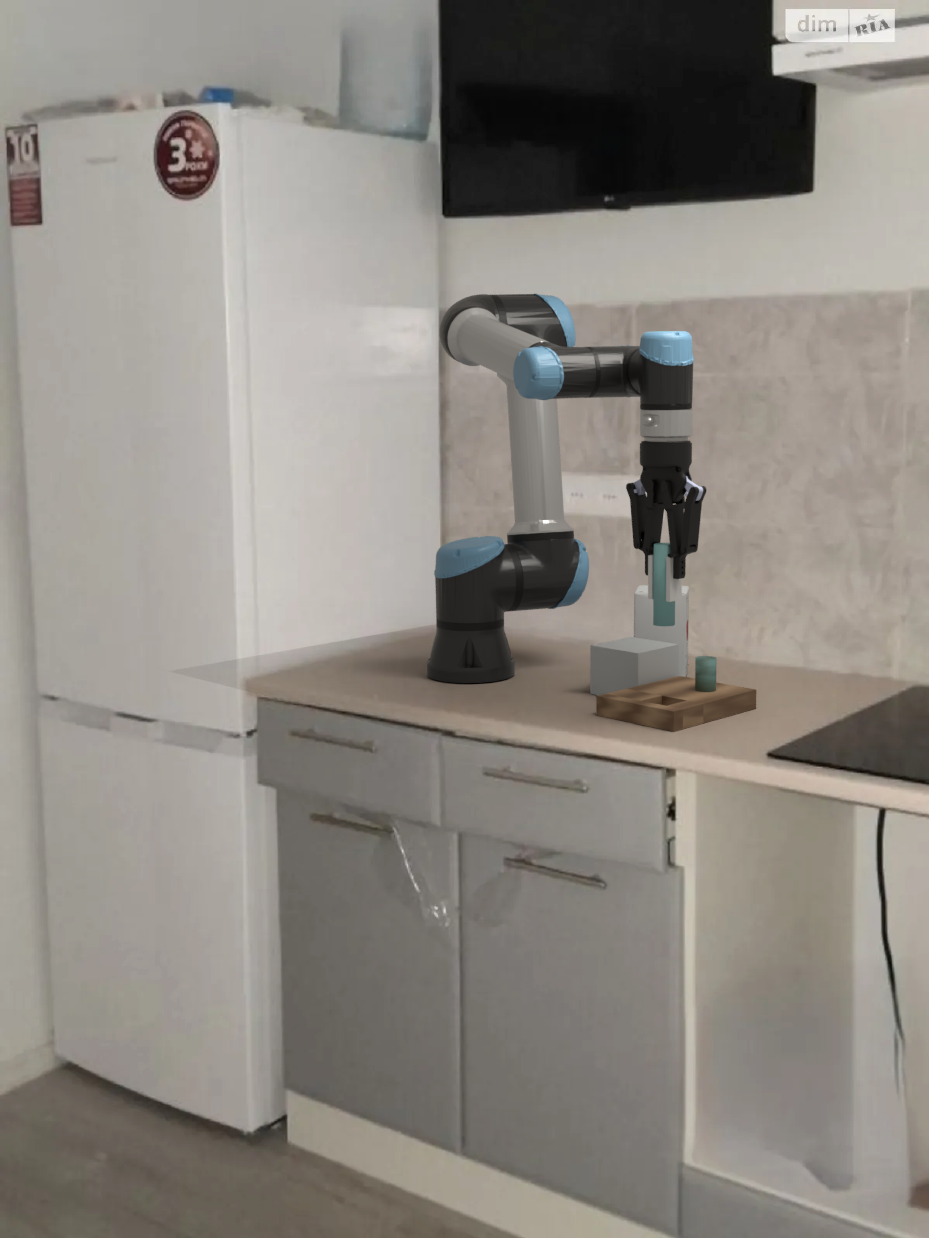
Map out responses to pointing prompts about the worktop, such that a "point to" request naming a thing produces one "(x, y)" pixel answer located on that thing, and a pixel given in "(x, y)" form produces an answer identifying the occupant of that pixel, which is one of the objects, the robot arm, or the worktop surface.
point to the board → (678, 700)
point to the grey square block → (631, 663)
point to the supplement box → (663, 633)
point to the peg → (661, 588)
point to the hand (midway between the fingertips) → (664, 599)
